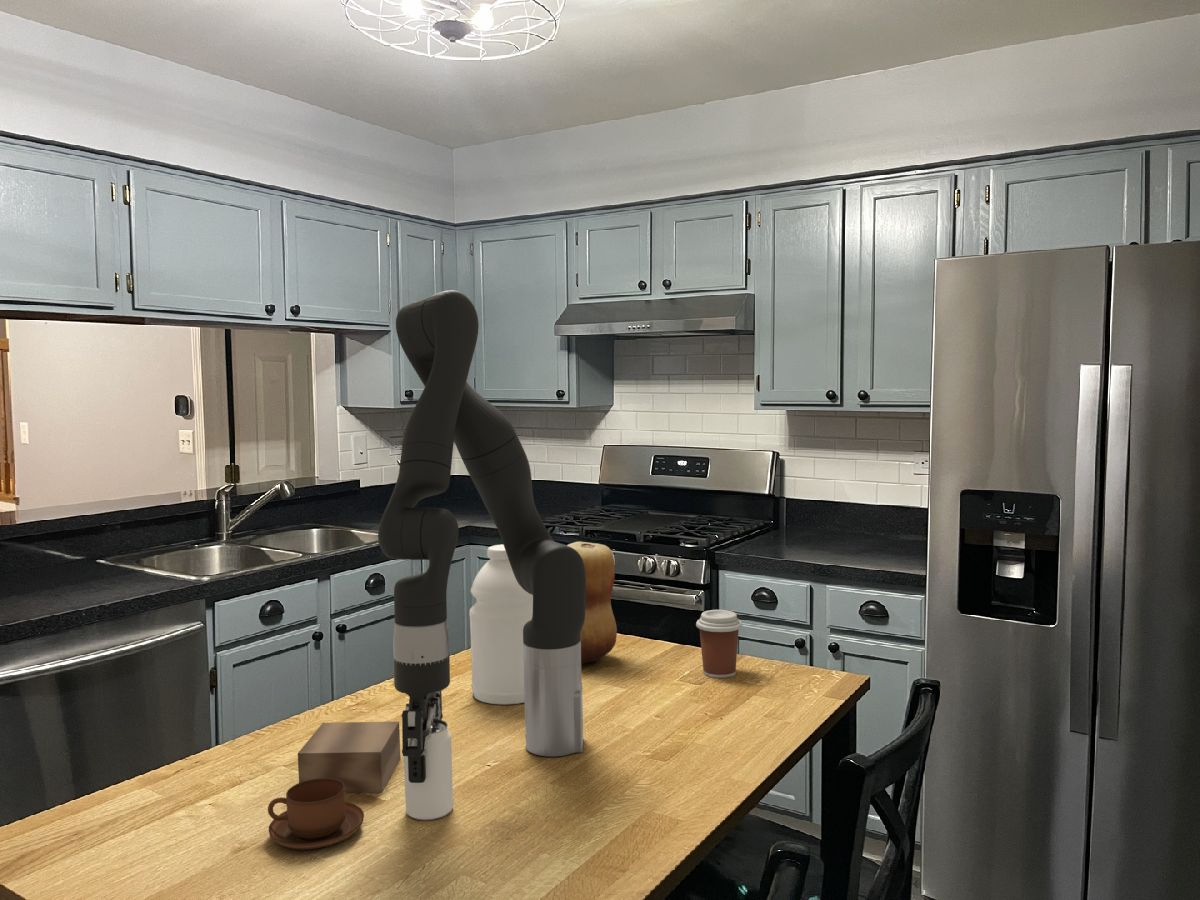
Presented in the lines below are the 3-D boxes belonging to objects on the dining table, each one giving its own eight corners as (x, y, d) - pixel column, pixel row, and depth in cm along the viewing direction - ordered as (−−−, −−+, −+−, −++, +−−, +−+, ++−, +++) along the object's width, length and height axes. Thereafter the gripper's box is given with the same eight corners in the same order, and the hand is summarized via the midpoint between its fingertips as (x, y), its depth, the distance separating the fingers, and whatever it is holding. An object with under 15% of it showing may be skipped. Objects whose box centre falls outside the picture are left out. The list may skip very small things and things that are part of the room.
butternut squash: (618, 671, 189) (616, 548, 187) (552, 672, 188) (549, 550, 186) (616, 651, 202) (614, 537, 200) (554, 652, 202) (551, 538, 200)
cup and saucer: (273, 866, 115) (270, 818, 114) (265, 825, 126) (263, 780, 125) (371, 845, 120) (370, 799, 119) (356, 807, 131) (354, 764, 130)
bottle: (560, 688, 179) (557, 543, 176) (516, 711, 167) (512, 556, 165) (502, 677, 186) (498, 538, 184) (456, 697, 174) (451, 549, 172)
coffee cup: (745, 680, 182) (745, 619, 181) (698, 680, 182) (698, 620, 181) (739, 665, 191) (738, 607, 190) (694, 666, 191) (694, 608, 190)
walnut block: (400, 758, 147) (399, 721, 146) (382, 792, 135) (380, 752, 134) (324, 759, 147) (322, 722, 146) (299, 793, 135) (297, 753, 134)
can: (443, 823, 125) (440, 736, 124) (398, 819, 126) (394, 733, 125) (460, 802, 131) (457, 718, 130) (416, 798, 133) (414, 716, 132)
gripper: (438, 669, 120) (441, 791, 121) (458, 638, 134) (460, 748, 135) (380, 669, 120) (383, 791, 121) (406, 638, 134) (409, 748, 136)
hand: (424, 768), depth 128 cm, fingers open, 8 cm apart
